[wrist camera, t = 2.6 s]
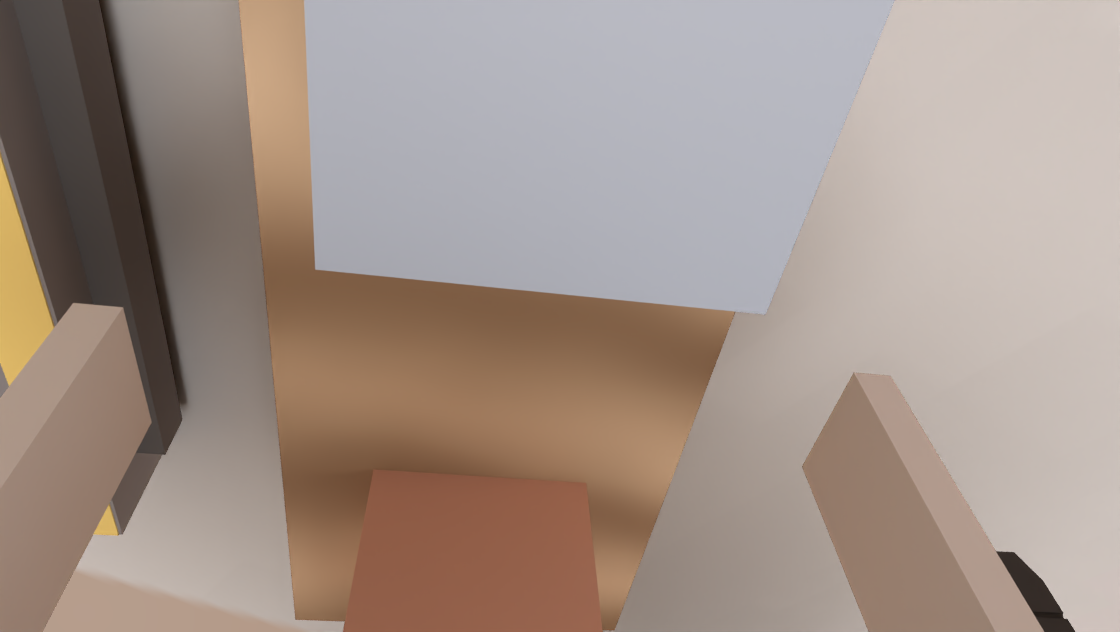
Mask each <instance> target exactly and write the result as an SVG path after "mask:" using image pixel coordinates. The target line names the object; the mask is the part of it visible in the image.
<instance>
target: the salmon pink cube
mask: <svg viewBox="0 0 1120 632" xmlns="http://www.w3.org/2000/svg"><path fill="white" fill-rule="evenodd" d="M343 632H603V631H602V622H601V612H600V603H599V594H598V585H597V576H596V567H595V558H594V549H593V540H592V531H591V522H590V513H589V503H588V494H587V485H586V483H581V482H565V481H549V480H533V479H518V478H502V477H486V476H470V475H454V474H438V473H422V472H407V471H391V470H375V469H373V475H372V480H371V485H370V491H369V496H368V501H367V507H366V512H365V517H364V523H363V528H362V533H361V539H360V544H359V549H358V555H357V560H356V565H355V571H354V576H353V581H352V587H351V592H350V597H349V603H348V608H347V613H346V619H345V624H344V630H343Z"/></svg>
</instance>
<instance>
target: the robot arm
mask: <svg viewBox="0 0 1120 632" xmlns="http://www.w3.org/2000/svg"><path fill="white" fill-rule="evenodd" d="M150 424H151V418H150V414H149V410H148V406H147V402H146V398H145V394H144V390H143V385H142V381H141V377H140V373H139V369H138V365H137V361H136V357H135V353H134V349H133V345H132V341H131V337H130V333H129V329H128V325H127V321H126V317H125V313H124V309H123V307H114V306H102V305H91V304H80V303H73V304H72V305H71V307H70V308H69V309H68V310H67V312H66V313H65V314H64V316H63V317H62V318H61V320H60V321H59V322H58V323H57V325H56V326H55V327H54V329H53V330H52V331H51V333H50V334H49V335H48V336H47V338H46V339H45V340H44V342H43V343H42V344H41V346H40V347H39V348H38V350H37V351H36V352H35V353H34V355H33V356H32V357H31V359H30V360H29V361H28V363H27V364H26V365H25V366H24V368H23V369H22V370H21V372H20V373H19V374H18V376H17V377H16V378H15V379H14V381H13V382H12V383H11V385H10V386H9V387H8V389H7V390H6V391H5V392H4V394H3V395H2V396H1V398H0V632H43V630H44V628H45V626H46V624H47V622H48V620H49V618H50V617H51V615H52V613H53V611H54V609H55V607H56V605H57V603H58V601H59V599H60V597H61V595H62V594H63V591H64V590H65V588H66V586H67V584H68V582H69V580H70V578H71V576H72V574H73V572H74V570H75V569H76V567H77V565H78V563H79V561H80V559H81V557H82V555H83V553H84V551H85V549H86V547H87V545H88V544H89V542H90V540H91V538H92V536H93V534H94V532H95V530H96V528H97V526H98V524H99V522H100V520H101V519H102V517H103V515H104V513H105V511H106V509H107V507H108V505H109V503H110V501H111V499H112V497H113V495H114V494H115V492H116V490H117V488H118V486H119V484H120V482H121V480H122V478H123V476H124V474H125V472H126V471H127V469H128V467H129V465H130V463H131V461H132V459H133V457H134V455H135V453H136V451H137V449H138V447H139V446H140V444H141V442H142V440H143V438H144V436H145V434H146V432H147V430H148V428H149V426H150ZM802 468H803V470H804V473H805V475H806V478H807V480H808V483H809V485H810V488H811V490H812V493H813V495H814V497H815V500H816V502H817V505H818V507H819V510H820V512H821V515H822V517H823V520H824V522H825V525H826V527H827V530H828V532H829V535H830V537H831V540H832V542H833V544H834V547H835V549H836V552H837V554H838V557H839V559H840V562H841V564H842V567H843V569H844V572H845V574H846V577H847V579H848V582H849V584H850V587H851V589H852V591H853V594H854V596H855V599H856V601H857V604H858V606H859V609H860V611H861V614H862V616H863V619H864V621H865V624H866V626H867V629H868V631H869V632H1075V630H1074V629H1073V627H1072V626H1071V624H1070V623H1069V621H1068V619H1064V618H1063V612H1062V610H1061V608H1060V607H1059V605H1058V604H1057V602H1056V601H1055V599H1054V597H1053V596H1052V594H1051V593H1050V591H1049V589H1048V588H1047V586H1046V585H1045V583H1044V582H1043V580H1042V579H1041V578H1040V577H1039V576H1038V575H1037V574H1036V573H1035V572H1034V571H1033V570H1032V569H1030V568H1029V567H1028V566H1027V565H1026V564H1025V563H1024V562H1023V561H1022V560H1021V559H1020V558H1019V557H1018V556H1017V555H1016V554H1015V553H1014V552H997V551H995V549H994V547H993V546H992V544H991V542H990V541H989V539H988V537H987V536H986V534H985V532H984V531H983V529H982V527H981V526H980V524H979V522H978V521H977V519H976V517H975V516H974V514H973V512H972V511H971V509H970V507H969V506H968V504H967V502H966V501H965V499H964V497H963V496H962V494H961V492H960V491H959V489H958V487H957V486H956V484H955V482H954V481H953V479H952V477H951V476H950V474H949V472H948V471H947V469H946V467H945V466H944V464H943V462H942V461H941V459H940V457H939V456H938V454H937V452H936V451H935V449H934V447H933V446H932V444H931V442H930V441H929V439H928V437H927V436H926V434H925V432H924V431H923V429H922V427H921V426H920V424H919V422H918V421H917V419H916V417H915V416H914V414H913V412H912V411H911V409H910V407H909V406H908V404H907V402H906V401H905V399H904V397H903V396H902V394H901V392H900V391H899V389H898V387H897V386H896V384H895V382H894V381H893V379H892V377H891V376H887V375H876V374H865V373H853V375H852V377H851V379H850V381H849V382H848V384H847V386H846V388H845V390H844V391H843V393H842V395H841V397H840V399H839V401H838V402H837V404H836V406H835V408H834V410H833V411H832V413H831V415H830V417H829V419H828V421H827V422H826V424H825V426H824V428H823V430H822V431H821V433H820V435H819V437H818V439H817V441H816V442H815V444H814V446H813V448H812V450H811V451H810V453H809V455H808V457H807V459H806V461H805V462H804V464H803V466H802Z"/></svg>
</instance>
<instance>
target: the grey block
mask: <svg viewBox="0 0 1120 632" xmlns="http://www.w3.org/2000/svg"><path fill="white" fill-rule="evenodd" d="M894 1H895V0H304V10H305V35H306V59H307V83H308V107H309V131H310V156H311V180H312V204H313V228H314V252H315V270H325V271H335V272H345V273H355V274H365V275H375V276H385V277H395V278H405V279H415V280H425V281H435V282H445V283H455V284H465V285H475V286H485V287H495V288H505V289H515V290H525V291H535V292H545V293H555V294H565V295H575V296H585V297H595V298H605V299H615V300H625V301H635V302H645V303H655V304H665V305H675V306H685V307H695V308H705V309H715V310H725V311H735V312H745V313H755V314H764V315H766V313H767V310H768V308H769V305H770V303H771V300H772V298H773V295H774V293H775V291H776V288H777V286H778V283H779V281H780V278H781V276H782V274H783V271H784V269H785V266H786V264H787V261H788V259H789V257H790V254H791V252H792V249H793V247H794V244H795V242H796V240H797V237H798V235H799V232H800V230H801V227H802V225H803V222H804V220H805V218H806V215H807V213H808V210H809V208H810V205H811V203H812V201H813V198H814V196H815V193H816V191H817V188H818V186H819V184H820V181H821V179H822V176H823V174H824V171H825V169H826V166H827V164H828V162H829V159H830V157H831V154H832V152H833V149H834V147H835V145H836V142H837V140H838V137H839V135H840V132H841V130H842V128H843V125H844V123H845V120H846V118H847V115H848V113H849V110H850V108H851V106H852V103H853V101H854V98H855V96H856V93H857V91H858V89H859V86H860V84H861V81H862V79H863V76H864V74H865V72H866V69H867V67H868V64H869V62H870V59H871V57H872V55H873V52H874V50H875V47H876V45H877V42H878V40H879V37H880V35H881V33H882V30H883V28H884V25H885V23H886V20H887V18H888V16H889V13H890V11H891V8H892V6H893V3H894Z"/></svg>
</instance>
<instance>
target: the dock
mask: <svg viewBox="0 0 1120 632" xmlns="http://www.w3.org/2000/svg"><path fill="white" fill-rule="evenodd" d="M73 303H80V304H91V305H102V306H114V307H123V309H124V313H125V317H126V321H127V325H128V329H129V333H130V337H131V341H132V345H133V349H134V353H135V357H136V361H137V365H138V369H139V373H140V377H141V381H142V385H143V390H144V394H145V398H146V402H147V406H148V410H149V414H150V418H151V424H150V426H149V428H148V430H147V432H146V434H145V436H144V438H143V440H142V442H141V444H140V446H139V447H138V449H137V451H136V453H135V455H134V457H133V459H132V461H131V463H130V465H129V467H128V469H127V471H126V472H125V474H124V476H123V478H122V480H121V482H120V484H119V486H118V488H117V490H116V492H115V494H114V495H113V497H112V499H111V501H110V503H109V505H108V507H107V509H106V511H105V513H104V515H103V517H102V519H101V520H100V522H99V524H98V526H97V528H96V530H95V532H94V534H98V535H119V534H123V532H124V530H125V528H126V526H127V524H128V522H129V520H130V518H131V516H132V514H133V512H134V510H135V508H136V506H137V504H138V502H139V500H140V498H141V496H142V494H143V492H144V490H145V488H146V486H147V484H148V482H149V480H150V478H151V476H152V474H153V472H154V470H155V468H156V466H157V464H158V462H159V460H160V458H161V456H162V455H165V454H166V452H167V450H168V448H169V446H170V444H171V442H172V440H173V438H174V436H175V434H176V432H177V430H178V428H179V426H180V423H181V421H182V416H181V411H180V406H179V401H178V396H177V391H176V386H175V381H174V376H173V371H172V366H171V361H170V355H169V350H168V345H167V340H166V335H165V330H164V325H163V320H162V315H161V310H160V305H159V300H158V295H157V290H156V285H155V280H154V275H153V270H152V265H151V260H150V255H149V250H148V245H147V240H146V235H145V230H144V225H143V220H142V215H141V210H140V205H139V200H138V195H137V190H136V185H135V180H134V175H133V170H132V165H131V160H130V155H129V149H128V144H127V139H126V134H125V129H124V124H123V119H122V114H121V109H120V104H119V99H118V94H117V89H116V84H115V79H114V74H113V69H112V64H111V59H110V54H109V49H108V44H107V39H106V34H105V29H104V24H103V19H102V14H101V9H100V4H99V0H0V398H1V396H2V395H3V394H4V392H5V391H6V390H7V389H8V387H9V386H10V385H11V383H12V382H13V381H14V379H15V378H16V377H17V376H18V374H19V373H20V372H21V370H22V369H23V368H24V366H25V365H26V364H27V363H28V361H29V360H30V359H31V357H32V356H33V355H34V353H35V352H36V351H37V350H38V348H39V347H40V346H41V344H42V343H43V342H44V340H45V339H46V338H47V336H48V335H49V334H50V333H51V331H52V330H53V329H54V327H55V326H56V325H57V323H58V322H59V321H60V320H61V318H62V317H63V316H64V314H65V313H66V312H67V310H68V309H69V308H70V307H71V305H72V304H73Z"/></svg>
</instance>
